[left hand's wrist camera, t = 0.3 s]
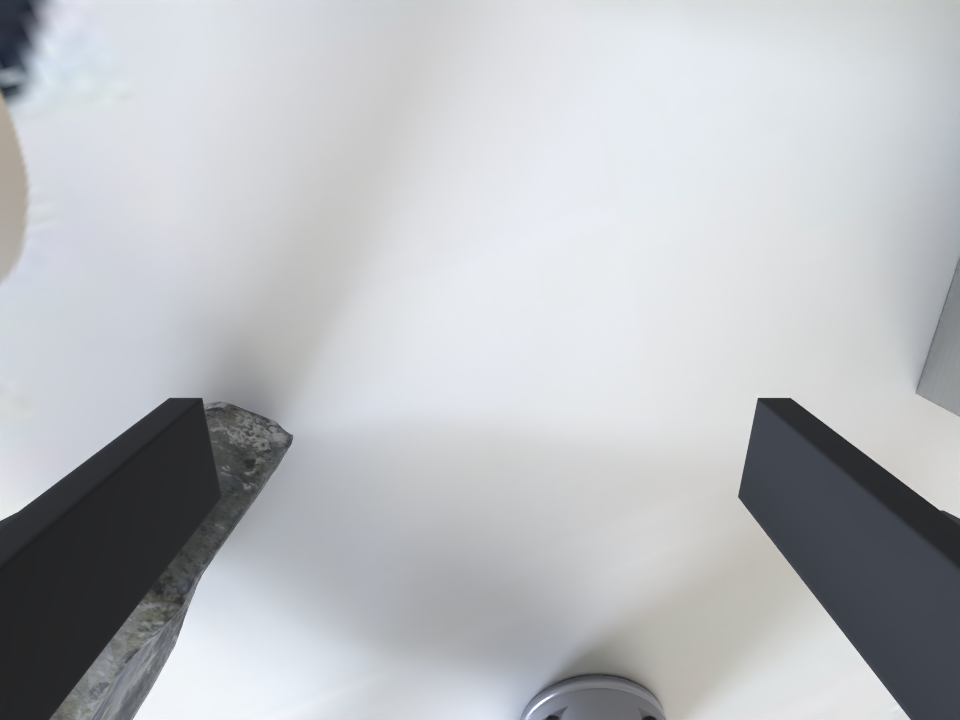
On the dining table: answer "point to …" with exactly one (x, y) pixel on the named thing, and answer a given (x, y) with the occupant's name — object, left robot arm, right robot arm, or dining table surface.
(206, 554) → the concrete block
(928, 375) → the box
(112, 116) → the dining table surface
